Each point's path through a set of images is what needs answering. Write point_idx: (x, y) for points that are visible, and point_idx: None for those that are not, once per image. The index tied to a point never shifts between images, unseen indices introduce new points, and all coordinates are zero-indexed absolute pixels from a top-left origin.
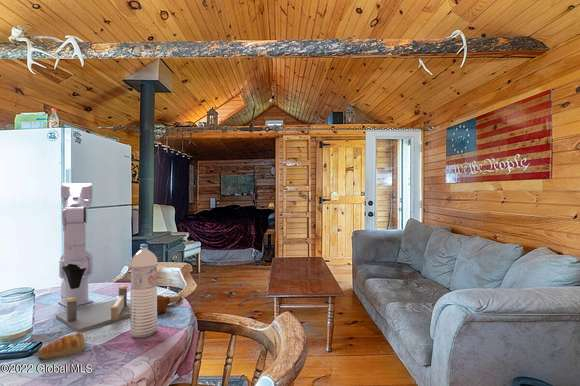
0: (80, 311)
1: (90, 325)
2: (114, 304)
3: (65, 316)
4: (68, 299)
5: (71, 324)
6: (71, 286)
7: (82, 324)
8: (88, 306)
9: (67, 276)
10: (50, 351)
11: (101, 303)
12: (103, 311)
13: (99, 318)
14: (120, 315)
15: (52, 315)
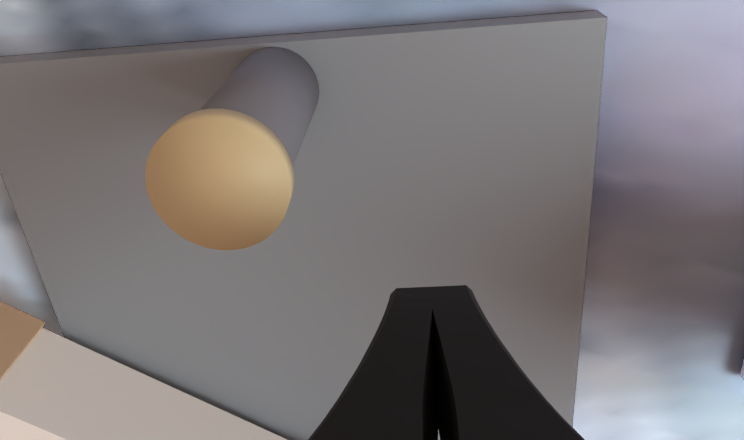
0: (477, 216)
1: (3, 160)
2: (26, 425)
3: (446, 75)
4: (201, 142)
5: (150, 50)
6: (386, 312)
7: (71, 120)
8: (568, 306)
9: (509, 427)
10: None
11: (548, 395)
12: (306, 337)
13: (141, 262)
14: None
15: (713, 6)
